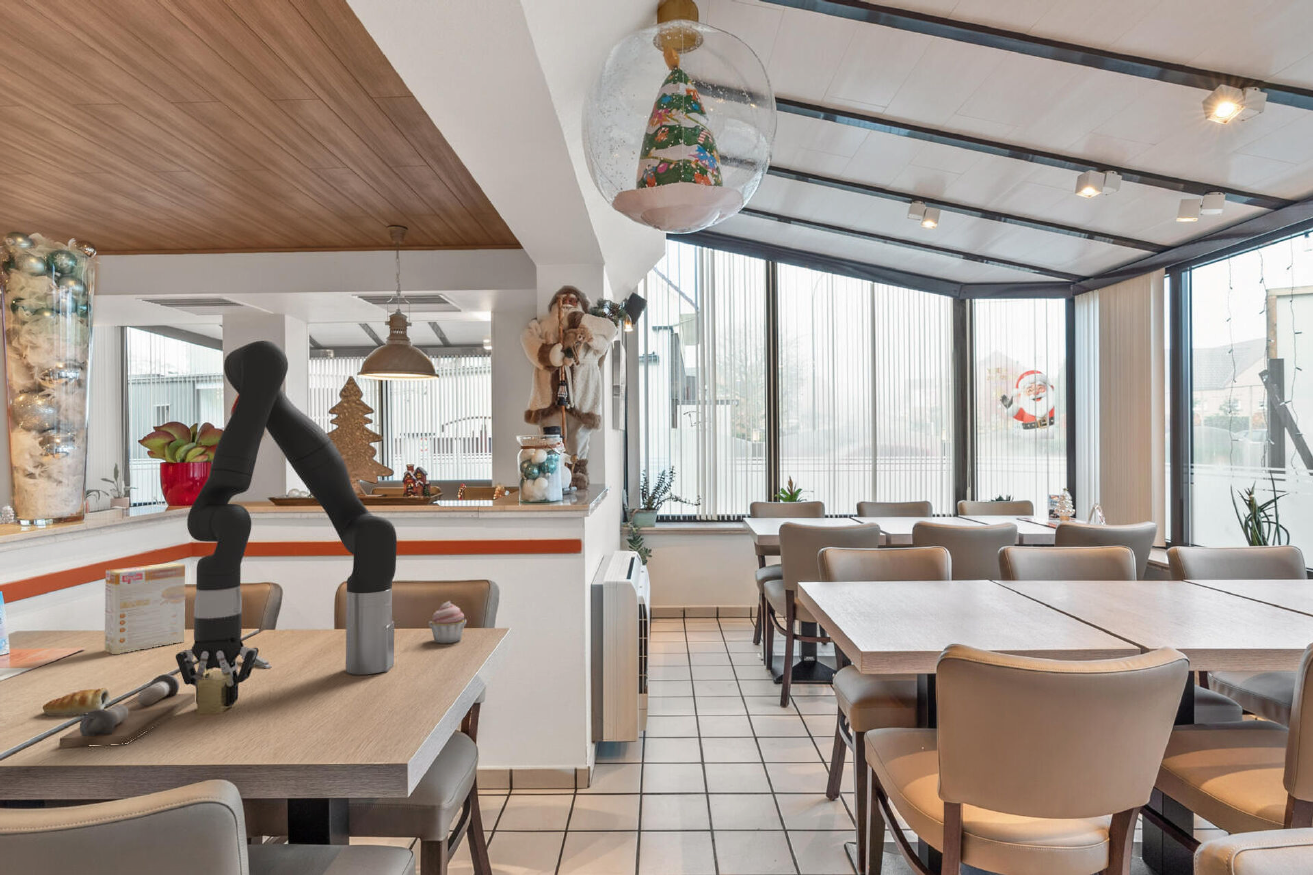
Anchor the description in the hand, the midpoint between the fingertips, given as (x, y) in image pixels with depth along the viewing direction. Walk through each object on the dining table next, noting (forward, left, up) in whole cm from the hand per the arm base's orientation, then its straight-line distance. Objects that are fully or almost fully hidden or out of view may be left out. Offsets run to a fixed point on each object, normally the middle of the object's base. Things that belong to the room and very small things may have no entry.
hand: (216, 705), depth 133 cm
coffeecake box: (+39, -49, -1) cm, 63 cm away
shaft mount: (+11, +6, 0) cm, 13 cm away
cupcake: (-34, -45, -1) cm, 56 cm away
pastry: (+24, -2, -1) cm, 24 cm away
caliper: (+9, -32, -1) cm, 33 cm away
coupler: (0, 0, -1) cm, 1 cm away
